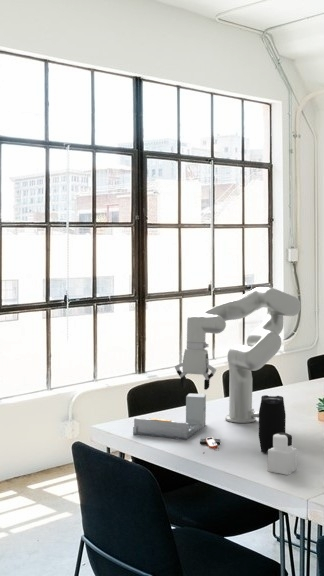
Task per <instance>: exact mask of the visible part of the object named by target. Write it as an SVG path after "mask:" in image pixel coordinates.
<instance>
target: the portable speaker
mask: <svg viewBox="0 0 324 576" xmlns="http://www.w3.org/2000/svg"><path fill="white" fill-rule="evenodd" d="M284 401H285V400H284V396H282V395H275V396H274V395H270V396H269V395H262V396H261V400H260V405H259V409H258V412H259V418H258V440H259V446H260V452H261V453H262V454H267V453H268V450H269V449H271V448H273V435H274V434H276V433H286V418H287V417H286V416H287V414H286V407H285V402H284Z"/></svg>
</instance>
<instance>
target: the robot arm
mask: <svg viewBox="0 0 324 576" xmlns="http://www.w3.org/2000/svg"><path fill="white" fill-rule="evenodd" d="M262 308H266V309H267V312H266V313H267V315H266V317H265V320H264V321H262V322H261V324H260V325H258V326H257V327H256V328H255V329H254V330H253V331H252V332H251V333H249V335H248V337H247V339H246V344H247V345H246V344H235V345H233V346H232V347H230V348H229V350H228V352H227V364H228V369H229V373H228V375H229V387H228V389H229V397H228V398H229V399H228V402H229V403H228V404H229V406H228V407H229V408H228V410H229V411H228V412H229V413H228V414H227V415H225V421H227V422H231V423H237V424H249V423H253V422H255V421H256V419H257V418H258V419H259V411H254V410H255V408H253V375H252V373H253V372H252V371H258V370H260V369H262V368H263V367H264V366H265V365H266V364H267V363H268V362H270V360H271V359H272V358H273V357H275V356H276V355H277V353H278V352H279V351H280V349H281V347H282V338H281V336H280V334H281V333H282V331H283V329H284V319H285V318H284V316H285V317H296V316H297V315H298V314H299V313H300V312H301V308H302V304H301V301H300V299H299V298H298V297H296V296H294V295H292V294H289V293H286V292H284V291H281V290H279V289H276V288H273V287H265V286H258V287H255V288H253V289H252V290H249V291H248V292H246V293H244V294H242V295H240V296H239V297H236V298H235V299H232V300H229V301H227V302H224V303H221V304H219V305H215V306H212V307H211V308H209V309H207V310H205V311H204V312H202V313H200V314H197V315H196V314H195V315H194V314H193V315H189V316H188V317H187V319H186V320H187V321H186V348H185V349H184V352H183V358H182V362H181V363H179V364H177V365H175V366H174V369H175V370H176V373H177V375H178V376H179V377H180V385H181V388H185V387H186V386H187V383H186V382H187V377H186V375H198V376H199V375H201V376H203V377H204V378H205V379H204V382H203V383H204V386H203V388H204V391H207V390H208V389H209V388H210V380H211V379H212V378H213V377H214V376H215V374H216V371H217V369H216V368H215V367H214V366H212V365H210V362H209V353H208V350H207V348H209V346H210V345H209V343H207V341H206V337H207V336H206V334H214V335H216V334H217V335H218V334H221V333H223V331H225V329H226V328H227V327H226V326H227V323H226V322H227V321H234V320H241V319H245V318H246V317H248V316H250V315H251V314H253V313H255V312H256V311H258V310H260V309H262ZM181 368H182V369H181ZM210 371H211V372H210ZM209 372H210V373H209Z"/></svg>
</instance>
